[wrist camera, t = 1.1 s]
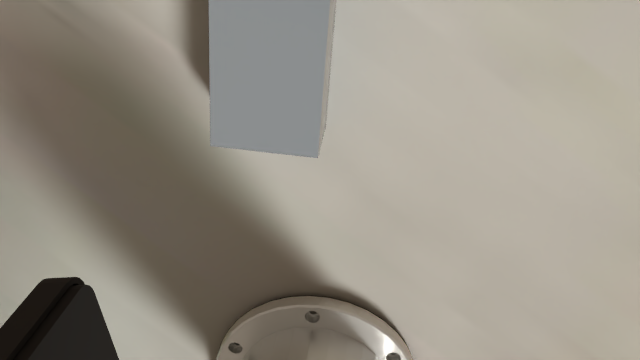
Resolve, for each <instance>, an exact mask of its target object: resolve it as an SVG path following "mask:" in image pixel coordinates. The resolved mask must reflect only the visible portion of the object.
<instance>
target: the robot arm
mask: <svg viewBox="0 0 640 360" xmlns="http://www.w3.org/2000/svg"><path fill="white" fill-rule="evenodd" d="M0 360H119V358H118V356H117V353H116V350H115V347H114V345H113V342H112V339H111V337H110V334H109V331H108V328H107V326H106V323H105V320H104V317H103V315H102V312H101V309H100V306H99V304H98V301H97V298H96V296H95V293H94V291H93V289H92V288H91V287H90V286H89V285H85V284H84V282H83V281H82V280H81V279H80V278H77V277H67V278H47V279H44V280H42V281H41V282H40V283H39V284H38V285H37V286H36V287H35V288H34V289H33V291H32V292H31V293H30V294H29V295H28V297H27V298H26V299H25V300H24V301H23V302H22V304H21V305H20V306H19V307H18V308H17V309H16V311H15V312H14V313H13V314H12V315H11V316H10V318H9V319H8V320H7V321H6V322H5V323H4V325H3V326H2V327H1V328H0ZM216 360H413V358H412V356H411V353H410V351H409V349H408V347H407V345H406V344H405V343H404V341H403V340H402V339H401V337H400V336H399V335H398V333H397V332H396V331H394V330H393V329H392V328H391V327H390V326H389V325H388V324H387V323H386V322H385V321H383V320H382V319H380V318H378V317H377V316H375V315H374V314H372V313H371V312H369V311H367V310H365V309H363V308H360V307H358V306H355V305H353V304H351V303H348V302H344V301H340V300H336V299H332V298H325V297H315V296H300V297H287V298H283V299H279V300H274V301H270V302H268V303H265V304H263V305H261V306H258V307H256V308H254V309H252V310H251V311H249V312H248V313H246V314H245V315H243V316H242V317H240V318H239V319H238V320H237V321H236V323H235V324H234V325H233V326H232V327H231V328H230V329H229V331H228V332H227V334H226V336H225V338H224V339H223V341H222V344H221V347H220V350H219V353H218V355H217V358H216Z"/></svg>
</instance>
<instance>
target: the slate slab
mask: <svg viewBox="0 0 640 360" xmlns="http://www.w3.org/2000/svg"><path fill="white" fill-rule="evenodd" d="M335 10H336V0H209V72H210V146H215V147H224V148H233V149H242V150H250V151H259V152H268V153H277V154H286V155H295V156H304V157H313V158H318V156H319V152H320V148H321V144H322V140H323V136H324V132H325V129H326V119H327V107H328V95H329V83H330V71H331V59H332V46H333V34H334V22H335Z"/></svg>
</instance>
